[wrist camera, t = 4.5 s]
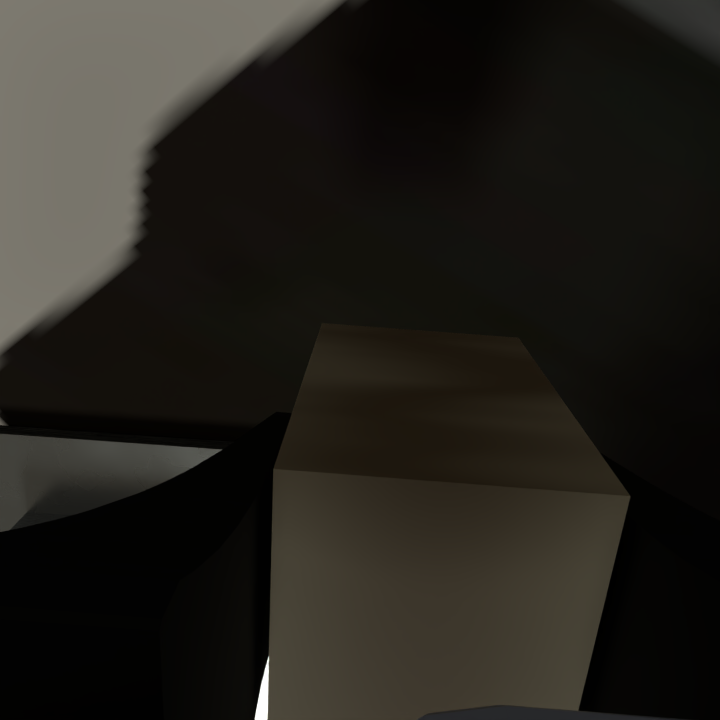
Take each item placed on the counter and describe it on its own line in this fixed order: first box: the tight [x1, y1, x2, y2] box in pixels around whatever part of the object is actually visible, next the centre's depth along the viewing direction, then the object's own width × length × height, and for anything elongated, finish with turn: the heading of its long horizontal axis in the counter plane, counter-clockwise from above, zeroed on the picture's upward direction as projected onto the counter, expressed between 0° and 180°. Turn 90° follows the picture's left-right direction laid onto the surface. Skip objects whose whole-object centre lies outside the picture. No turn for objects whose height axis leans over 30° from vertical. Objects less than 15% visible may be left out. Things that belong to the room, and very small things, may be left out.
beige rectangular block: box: [267, 323, 630, 720], centre depth 10 cm, size 4×4×6 cm
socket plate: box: [0, 425, 269, 720], centre depth 22 cm, size 14×14×3 cm
